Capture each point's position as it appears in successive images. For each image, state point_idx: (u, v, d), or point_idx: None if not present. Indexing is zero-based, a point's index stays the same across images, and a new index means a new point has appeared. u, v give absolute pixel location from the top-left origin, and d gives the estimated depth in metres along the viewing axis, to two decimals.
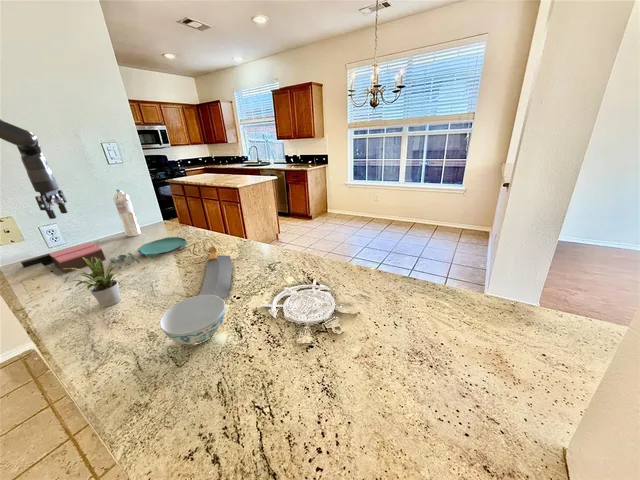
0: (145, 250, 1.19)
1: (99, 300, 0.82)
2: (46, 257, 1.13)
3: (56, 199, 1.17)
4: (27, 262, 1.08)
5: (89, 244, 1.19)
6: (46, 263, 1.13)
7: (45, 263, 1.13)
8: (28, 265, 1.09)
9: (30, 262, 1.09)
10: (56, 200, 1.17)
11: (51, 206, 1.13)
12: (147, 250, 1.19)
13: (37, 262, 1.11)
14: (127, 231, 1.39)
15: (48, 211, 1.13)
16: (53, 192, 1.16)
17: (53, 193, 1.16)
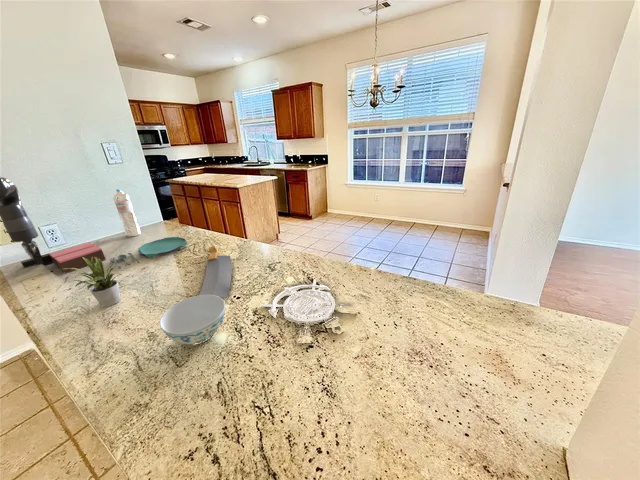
0: (145, 250, 1.19)
1: (99, 300, 0.82)
2: (46, 257, 1.13)
3: None
4: (27, 262, 1.08)
5: (89, 244, 1.19)
6: (46, 263, 1.13)
7: (45, 263, 1.13)
8: (28, 265, 1.09)
9: (30, 262, 1.09)
10: (34, 247, 1.10)
11: None
12: (147, 250, 1.19)
13: None
14: (127, 231, 1.39)
15: (38, 259, 1.10)
16: None
17: None
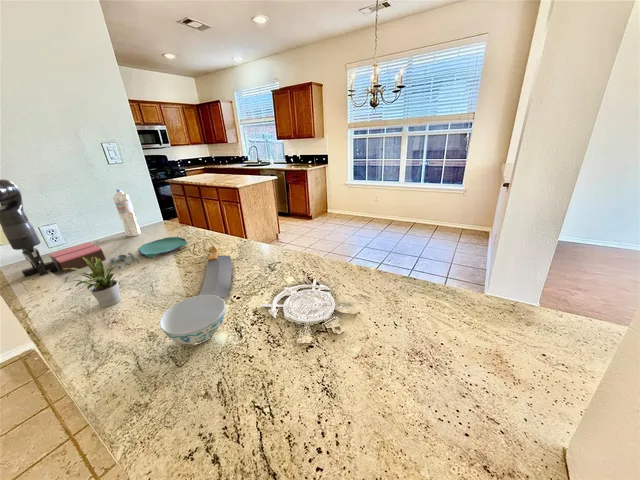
0: (145, 250, 1.19)
1: (99, 300, 0.82)
2: (49, 265, 1.05)
3: None
4: (28, 271, 1.01)
5: (89, 244, 1.19)
6: None
7: None
8: (29, 274, 1.01)
9: (32, 271, 1.01)
10: None
11: None
12: (147, 250, 1.19)
13: None
14: (127, 231, 1.39)
15: (41, 267, 1.00)
16: None
17: None
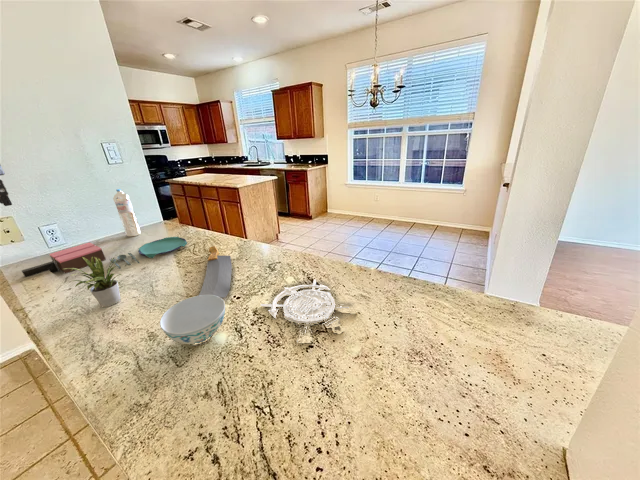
0: (145, 250, 1.19)
1: (99, 300, 0.82)
2: (49, 265, 1.05)
3: None
4: (28, 271, 1.01)
5: (89, 244, 1.19)
6: None
7: None
8: (29, 274, 1.01)
9: (32, 271, 1.01)
10: None
11: None
12: (147, 250, 1.19)
13: (39, 270, 1.03)
14: (127, 231, 1.39)
15: (5, 197, 1.04)
16: None
17: None
